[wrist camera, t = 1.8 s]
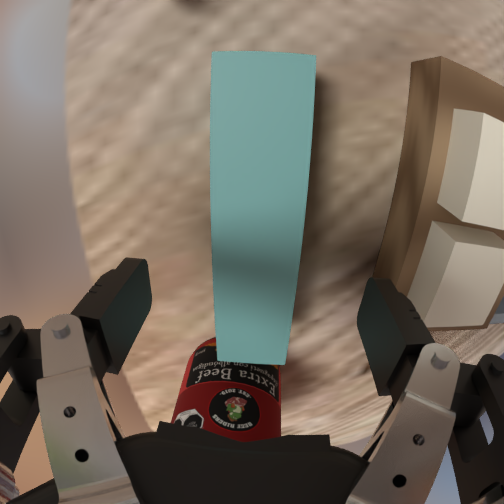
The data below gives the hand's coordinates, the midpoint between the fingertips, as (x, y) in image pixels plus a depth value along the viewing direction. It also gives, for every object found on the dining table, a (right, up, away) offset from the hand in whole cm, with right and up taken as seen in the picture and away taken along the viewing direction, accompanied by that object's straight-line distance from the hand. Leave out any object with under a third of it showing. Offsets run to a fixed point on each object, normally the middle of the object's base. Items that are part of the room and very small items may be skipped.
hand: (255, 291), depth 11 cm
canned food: (-2, -8, +14) cm, 16 cm away
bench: (+13, +5, +6) cm, 15 cm away
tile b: (+12, +1, +4) cm, 12 cm away
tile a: (+12, +6, +1) cm, 13 cm away
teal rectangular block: (0, +4, +7) cm, 8 cm away
